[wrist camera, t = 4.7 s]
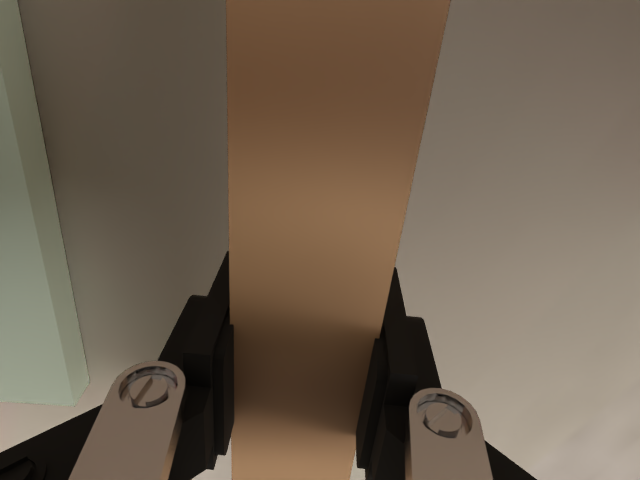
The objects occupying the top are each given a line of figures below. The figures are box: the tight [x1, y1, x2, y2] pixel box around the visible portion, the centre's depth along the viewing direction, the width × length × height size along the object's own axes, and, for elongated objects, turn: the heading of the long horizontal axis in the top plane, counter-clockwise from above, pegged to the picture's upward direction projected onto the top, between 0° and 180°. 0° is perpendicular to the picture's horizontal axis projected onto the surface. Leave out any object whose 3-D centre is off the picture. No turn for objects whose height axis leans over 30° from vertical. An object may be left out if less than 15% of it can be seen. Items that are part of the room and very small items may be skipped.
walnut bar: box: [226, 0, 451, 480], centre depth 12 cm, size 18×3×4 cm, turn 175°
